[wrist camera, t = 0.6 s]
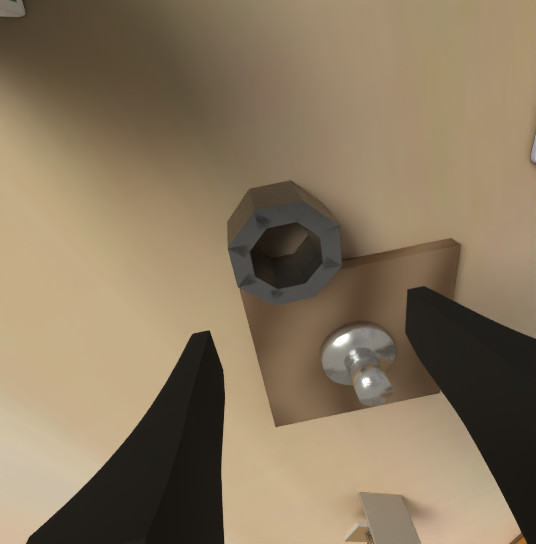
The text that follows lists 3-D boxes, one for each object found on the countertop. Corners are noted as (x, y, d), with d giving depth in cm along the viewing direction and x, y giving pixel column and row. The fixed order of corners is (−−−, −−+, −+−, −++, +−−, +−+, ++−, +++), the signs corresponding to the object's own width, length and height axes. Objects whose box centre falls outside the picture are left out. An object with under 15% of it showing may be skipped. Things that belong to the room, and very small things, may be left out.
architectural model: (386, 505, 40) (416, 586, 34) (335, 502, 39) (357, 587, 32) (400, 490, 39) (435, 572, 32) (348, 486, 37) (373, 572, 31)
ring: (319, 174, 19) (337, 193, 16) (327, 261, 22) (343, 290, 19) (220, 194, 19) (219, 217, 16) (241, 278, 21) (244, 311, 18)
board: (451, 238, 22) (460, 244, 21) (433, 383, 29) (439, 392, 28) (239, 281, 22) (239, 290, 21) (274, 416, 29) (275, 427, 28)
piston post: (390, 314, 23) (419, 356, 20) (389, 366, 26) (414, 411, 22) (316, 329, 23) (332, 373, 20) (322, 380, 26) (337, 427, 22)
